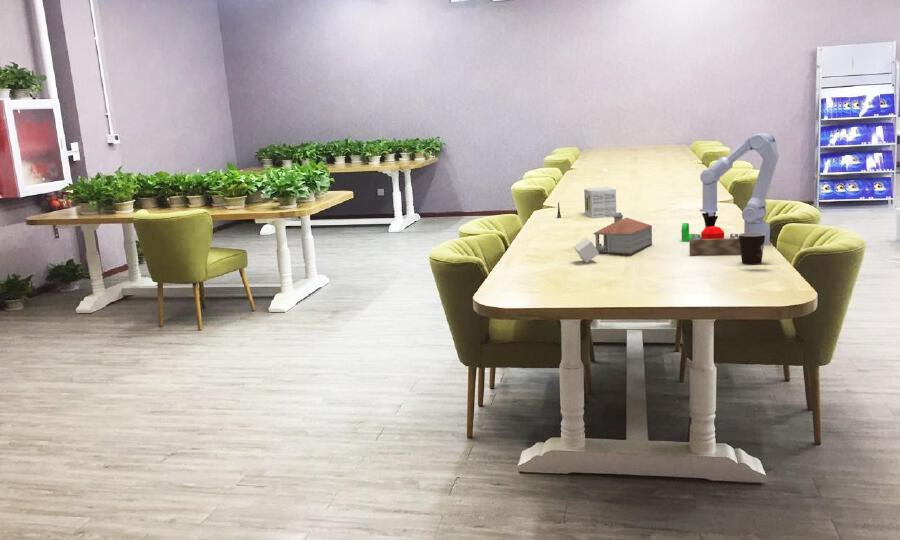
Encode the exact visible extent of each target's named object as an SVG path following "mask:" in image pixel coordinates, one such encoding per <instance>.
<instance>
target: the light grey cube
mask: <svg viewBox="0 0 900 540" xmlns="http://www.w3.org/2000/svg"><path fill="white" fill-rule="evenodd" d="M573 249H574V250H575V252H576V253H577V254H578V256H579V258H580V259H581V260H582V261H584V263H586V264H587V263H589V262H590V261H591V260H593V259H594V258H595V257H597V256H598V255H600V254H599V252H598V251H597V249H596V245H594V243H593V242H592V241H591V240H590V239H589V238H587V237H585V238H583V239H582V240H580V241H579V242H577V243H576V244H575V245H574V246H573Z"/></svg>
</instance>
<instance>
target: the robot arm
mask: <svg viewBox="0 0 900 540" xmlns="http://www.w3.org/2000/svg"><path fill="white" fill-rule="evenodd" d="M753 150H754V151H755V152H756V153H758V154H759V155H760V157H761V158H762V162H761V165H760V169H759V172H758V174H757V177H756V178H757V179H756V182H755V186H754V188H753V191H752V194H751V197H750V198H749V200H748V202H747V203H746V207H744V209H742V212H741V218H742V220H743V221H744V222H743V225H744V226H743V229H744V231H743V233H763V234H765V241H764V246H765V245H766V246H769V245H770V243H771V242H770V241H771V240H770V239H771V238H770V237H771V226H770V222H769V221H765V220H764V218H765V217H766V215H767V209H766V208H767V201H766V198H767V196H768V195H767V194H768V192H769V189H770V187H771V182H772V180H773V177H774V173H775V170H776V167H777V164H778V160H779V155H780V154H779V151H778V147H777V139H776V137H775V136H774V134H772V133H771V132H767V131H766V132H765V131H764V132H762V133H761V132H759V133H754V134H752V135H751V136H750V137H748V138H747V139H746V140H744V141H743V142H742V143H741V144H740V145H739V146H738V147H737V148H736V149H734V150H733V151H732V152H731V153H730V154H729V155H728V156H721V157H719V158H717V161H716V162H715V163H713V164H712V165H709V166H708V169H704V170H703V171H702V172H701V173H700V176H699V178H700V181H701V182H702V208H701V209H700V208H699V212H702V213H701V216H702V217H703V220H704V228H705V227H711V226H716V222H717V220H718V218H719V216H718V215H717V212H718V181H719V180H720V178H721V177H722V176H723V175H725V174H726V173H727V172H728V171H730V170H731V169H732V168H733V165H734V163H735V162H736V161H737V160H739V159H741V157H742V156H744V155H746V154H747V153H748V152H749V151H753Z"/></svg>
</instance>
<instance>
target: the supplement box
mask: <svg viewBox="0 0 900 540" xmlns="http://www.w3.org/2000/svg"><path fill="white" fill-rule="evenodd" d="M583 190H584V191H583V194H584V215H585V216H586V217H588V218H590V219H600V218H601V219H602V218H604V217H606V218H614V217H613V216H614V215H615V213H617V189H616V188H613V187H608V186H607V187H594V188H584V189H583ZM604 219H605V218H604Z"/></svg>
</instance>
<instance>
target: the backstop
mask: <svg viewBox="0 0 900 540" xmlns="http://www.w3.org/2000/svg"><path fill="white" fill-rule="evenodd" d="M689 256H690V257H696V256H697V257H698V256H700V257H701V256H705V257H706V256H741V249H740V241H739V238H730V237H729V238H724V239H690V242H689Z"/></svg>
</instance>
